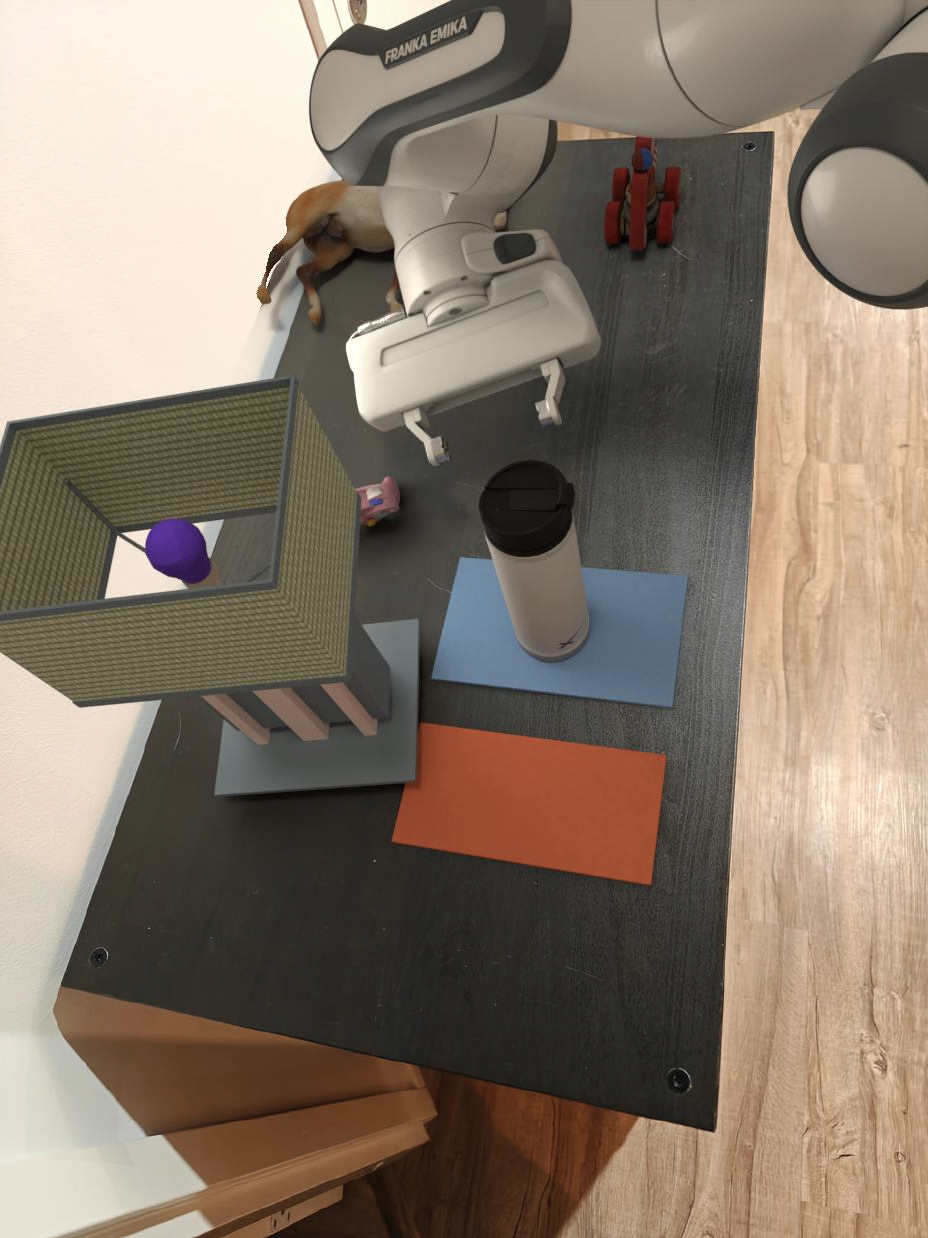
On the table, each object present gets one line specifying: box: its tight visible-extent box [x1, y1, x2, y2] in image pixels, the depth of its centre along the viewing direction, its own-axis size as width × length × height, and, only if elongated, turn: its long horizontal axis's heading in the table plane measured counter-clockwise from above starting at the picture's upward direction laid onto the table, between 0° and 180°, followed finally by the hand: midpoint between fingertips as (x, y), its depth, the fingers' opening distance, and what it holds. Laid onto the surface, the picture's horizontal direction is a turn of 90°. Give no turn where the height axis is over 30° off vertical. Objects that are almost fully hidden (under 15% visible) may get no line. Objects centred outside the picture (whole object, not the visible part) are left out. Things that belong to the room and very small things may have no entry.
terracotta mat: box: [391, 722, 668, 887], centre depth 73 cm, size 20×10×1 cm, turn 78°
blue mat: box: [430, 556, 689, 709], centre depth 80 cm, size 20×12×1 cm, turn 78°
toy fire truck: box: [603, 136, 682, 251], centre depth 96 cm, size 7×12×10 cm, turn 168°
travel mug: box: [478, 459, 590, 662], centre depth 71 cm, size 6×7×20 cm
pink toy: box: [355, 475, 401, 527], centre depth 87 cm, size 10×5×7 cm, turn 103°
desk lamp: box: [0, 374, 421, 798], centre depth 66 cm, size 18×14×33 cm
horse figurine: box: [256, 179, 508, 327], centre depth 103 cm, size 31×8×21 cm
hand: (495, 443), depth 75 cm, fingers open, 8 cm apart
